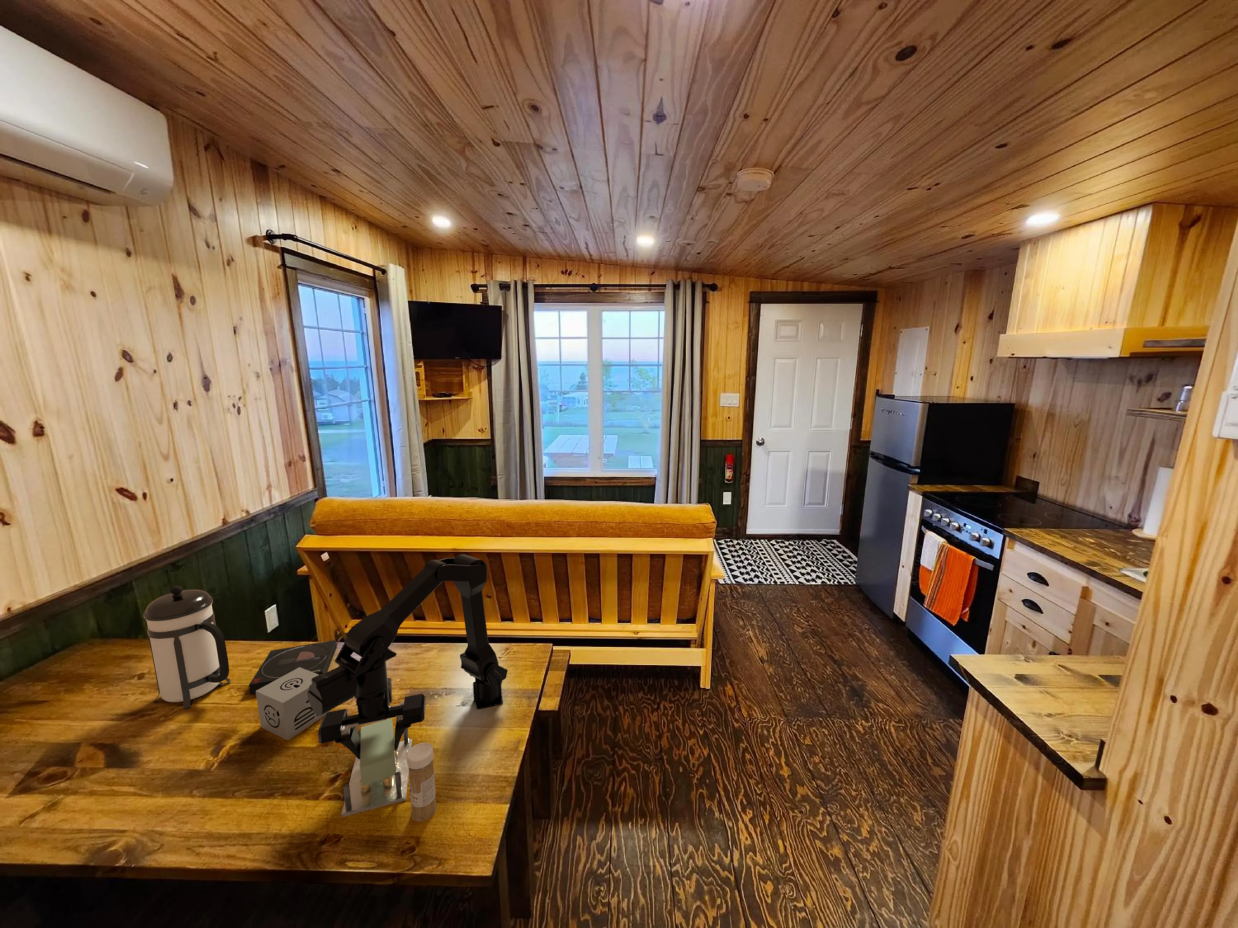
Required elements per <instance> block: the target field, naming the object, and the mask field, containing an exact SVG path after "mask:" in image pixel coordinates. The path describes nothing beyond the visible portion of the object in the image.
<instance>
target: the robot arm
mask: <svg viewBox="0 0 1238 928" xmlns="http://www.w3.org/2000/svg"><path fill="white" fill-rule="evenodd" d="M449 581H451V582H452V583H453V584H454V586H455V588H456V589H457V590H458V592H459V593H460V598H461V607H462V613H463V620H464V628H465V635H466V642H467V643H466V644H467V646H466V649H465V650H464V652H463V653H460V654H459V658H460V662H461V664H460V668H461V669H463V671H464V672H465V673H467V674H469V676H470V677H472V678H474V680H475V681H473V683H472V690H473V691H472V693H473V702H474V703H475V708H476V710H480V709H485V708H489V707H493V706H494V707H495V706H498V705H503V704H504V699H503V691H502V690H503V689H502V685H503V681H504V680H506V678H507V677H508V669H506V668H504V667H502V666H501V665H500V664H499V660H498V657H497V654H496V651H495V650H494V649H493V647H492V645H491V644H490V642H489V638H488V628H487V621H486V611H485V604H484V596H483V590H484V587H485V586H486V583H487V582H488V565H487V563H486V562H485V561H484V560H483V559H480V558H477V557H474V556H470V555H468V554H466V553H465V554H464V553H462V554H458V555H457V556H455V557H445V558H441V559H431V560H429V561H428V562H426V563H425V564H424V567H423V569H422V570H421V571H420V572H419V573H417V574H416V575H415V576H414V577H413V578H412V579H411V580H410V581H409V582H408V583H407V584H406V585H405V586H404V587H403V588H402V589H401V590H400V591H399V592H398V593H397V594H396V595H395V596H394V597H393V598H392V599H391V600H390V601H389V602H387V603H386V605H384V606H383V607H382V608H381V609H380V610H377V611H375V612H372V613H371V614H367V615H366V616H364V617H363V618H362V619H361V620H359V621H358V622H357V623H355V624H354V625H353V626H352V627H351V628H350V629H349V630H348V631H347V633H346V636H345V637H346V639H345V640H344V642H343V644H342V647H341V648H340V650H339V652H338V654H337V656H336V658H335V659H334V663H335V664H337V665H338V666H337V667H335V668H332V669H330V670H328V672H326V673H324V674H321V675H318V676H316V677H314V678H312V679H311V681H312V684H311V685H310V686H309V690H308V692H307V695H308V700H309V703H310V705H311V707H312V709H313V711H314V712H315V713H316V714H317V715H318V716H320V715H322V714H324V713H326V712H327V713H326V714H325V715H324V716H323V717H322V720H321V722H320V724H319V728H318V734H317V736H318V742H319V743H320V744H325V743H329V742H334V743H335V744H341V745H343V746H344V747H345V748H347V750H348V751H350V752H351V753H352V754H353V755H354V756H355V758H356V757H357V758H358V759H360V746H361V744H360V740H359V735H358V731H359V730H358V727H359V726H363V725H364V726H365V725H370V724H373V723H377V722H380V721H384V720H387V719H390V718H392V719H393V718H396V719H395V720H396V721H395V727H394V748H395V751H397V749H398V746H399V743H400V741H401V739H402V736H403V733H404V731H405V729H406V728H408V729H409V728H411V727H412V724H413V725H414V724H418V723H422V722H423V721H425V717H426V704H427V702H426V701H427V700H426V695H424V694H423V693H419V694H412V695H408V696H405V697H404V701H402V702H399V703H398V705H393V706H391V703H392V701H393V694H392V693H393V691H392V690H393V688H392V686H393V685H392V677H388V671H387V670H388V669H387V661H389V660H390V659H393V658H395V657H397V654H398V653H397V652H396V651H394V650H392V649H390V646H391V645H392V644H393V642H394V640H395V639H396V637H397V635H398V631H399V629H400V627H401V625H402V624H403V623H404V622H405V621H406V620H407V618H408V617H409V616H410V615H411V614H412V613H413V612H414V611H416V609H417V608H418V607H420V605H421V604H422V603H423V602H424V601H425V600H427V598H428V597H429V596H430V595H431V594H432V593H433V592H434V591H435V590H436V589H437V588H438V587H439V586H440V585H441V584H442V583H443V582H449ZM353 653H355V654H356V655H358V656H359V657H361V658H360V659H359V660H358V659H356V658H354V657H353V656H352V654H353ZM353 698H354V699H356V700H355V703H356V704H355V706H356V709H357V714H352V715H348V713H349V712H348V709H347V708H343V709H337V710H333V709H335V708H337V707H339V706H341V705H343V704H344V703H346V702H348V701H350V700H352V699H353ZM332 710H333V711H332ZM328 711H330V712H328Z"/></svg>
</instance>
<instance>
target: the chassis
mask: <svg viewBox="0 0 1238 928" xmlns="http://www.w3.org/2000/svg"><path fill="white" fill-rule="evenodd" d="M357 731H358V735H359V740H360V744H361V729H360V730H357ZM402 736H403V740H400V743H399V746H398V749H397V751H395V760H396V773H395V775H393V776H390V777H388V778H385V779H382V780H379V781H376V782H373V783H370V784H367V785H365V786H362V782H361V773H360V759H358V758H357V757H356V756H355V759H354V762H353V767H352V771H351V776H350V779H349V783H347V784H344V786H343V787H342V789H343V797H344V802H343V806H342V810H341V818H343V817H348V816H352V815H356V814H359V813H362V812H367V811H370V810H371V811H372V810H373V809H377V808H382V807H386V806H389V805H393V804H398V803H402V802H405V801H406V800H407V793H408V792H407V791H408V786H409V785H408V784H409V767H408V765H407V753H408V751H409V750H410V749H411V748H412V747H413V738H410V739H409V728H406V729H405V731H404V733H403V735H402Z"/></svg>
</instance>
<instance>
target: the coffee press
mask: <svg viewBox="0 0 1238 928" xmlns="http://www.w3.org/2000/svg"><path fill="white" fill-rule="evenodd" d="M169 592H170V593H167V594H164V595H161V596H159V597H158V598H156V599H154V600H152V601H151V602H150V603H149V604H148V605H147V606H146V609H145V611H144V612H143V615H142V616H143V618H144V619H145V621H146V623H147V626H146V632H147V636H148V641H149V645H150V650H151V657H152V663H153V669H154V672H155V673H154V675H155V678H156V684H157V690H158V694H157V696H156V697H155V699H154V701H153V704H156V703H157V699H158V698H159V696H160V698H161V699H162V700H161V702H162V703H163V702H164V701H165V702H169V703H181V702H183V703H182V709H183V711H185V710H189V709H191V706H192V705H193V699H196V698H199V697H201V696H204V695H205V694H208V693H209V692H210V691H212V690H214V689H215V688H216V687H217V686H220V687H223V684H224V682H223V681H225V682H227V683H228V684H231V679H230V678H228V677H229V674H230V666H229V665H230V664H229V656H228V649H227V645H226V640H225V637H224V634H223V632H222V630H221V629H220V627H218V625H217V623H216V619H215V618H216V617H215V616H216V615H215V612H214V609H213V606H212V604H213V602H214V598H213V596H211V594H209V593H208V592H207V591H205V590H200V589H184V590H183V587H182V586H180V585H174V586H173V587H171V588H170V590H169Z"/></svg>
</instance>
